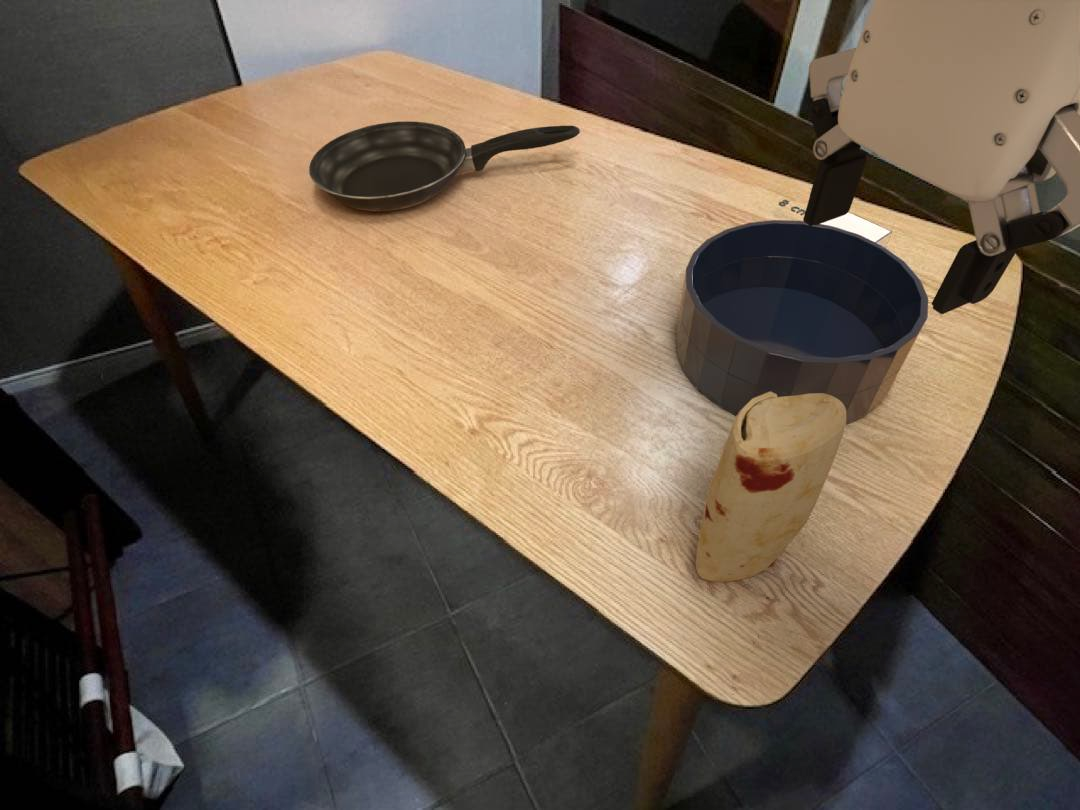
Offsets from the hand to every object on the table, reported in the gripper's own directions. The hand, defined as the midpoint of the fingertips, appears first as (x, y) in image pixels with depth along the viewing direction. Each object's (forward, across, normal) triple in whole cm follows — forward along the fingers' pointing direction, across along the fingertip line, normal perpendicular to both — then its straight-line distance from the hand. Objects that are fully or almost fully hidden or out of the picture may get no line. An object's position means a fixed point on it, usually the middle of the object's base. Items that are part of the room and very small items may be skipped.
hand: (885, 257), depth 37 cm
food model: (+30, -1, +4) cm, 31 cm away
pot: (+30, +18, -17) cm, 39 cm away
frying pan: (+30, +78, +4) cm, 84 cm away
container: (+30, +31, -37) cm, 57 cm away
